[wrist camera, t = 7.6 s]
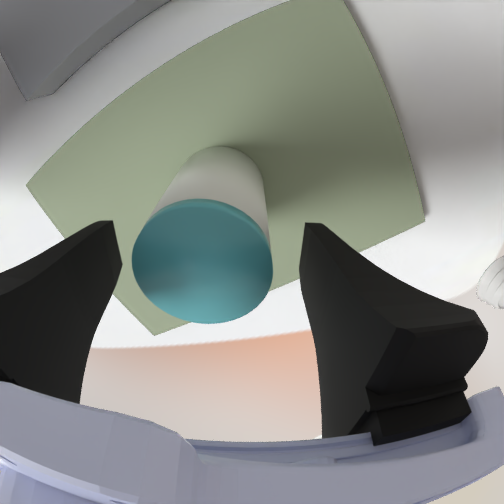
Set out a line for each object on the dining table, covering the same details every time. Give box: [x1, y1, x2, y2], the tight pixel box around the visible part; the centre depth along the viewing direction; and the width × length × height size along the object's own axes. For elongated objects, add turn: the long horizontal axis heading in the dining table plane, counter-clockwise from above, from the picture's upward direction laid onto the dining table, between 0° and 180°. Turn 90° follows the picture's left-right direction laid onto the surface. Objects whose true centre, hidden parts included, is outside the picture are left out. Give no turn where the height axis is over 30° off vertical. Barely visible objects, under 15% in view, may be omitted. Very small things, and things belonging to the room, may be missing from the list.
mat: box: [26, 0, 425, 336], centre depth 15 cm, size 20×14×1 cm
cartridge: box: [132, 146, 273, 324], centre depth 12 cm, size 4×4×7 cm
